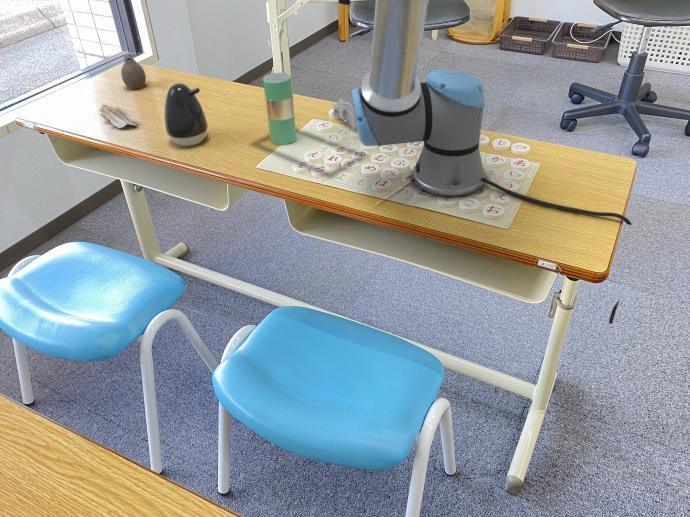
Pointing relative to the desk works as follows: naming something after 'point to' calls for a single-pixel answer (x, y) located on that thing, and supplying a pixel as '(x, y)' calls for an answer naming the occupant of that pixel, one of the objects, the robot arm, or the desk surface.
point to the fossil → (115, 116)
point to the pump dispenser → (184, 116)
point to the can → (280, 108)
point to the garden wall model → (345, 112)
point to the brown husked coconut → (133, 74)
